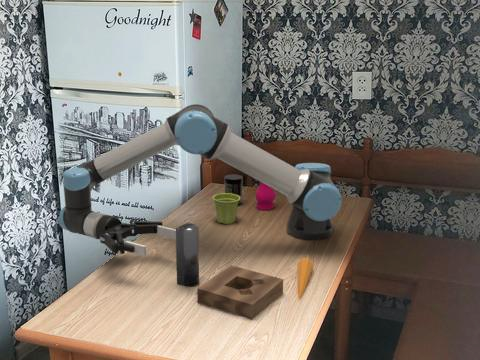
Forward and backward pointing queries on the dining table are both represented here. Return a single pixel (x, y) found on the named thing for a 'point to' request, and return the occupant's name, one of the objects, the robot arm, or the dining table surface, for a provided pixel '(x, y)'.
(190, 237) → the d peg
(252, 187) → the dining table surface
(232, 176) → the supplement container
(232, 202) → the plant pot
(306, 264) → the carrot
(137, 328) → the dining table surface
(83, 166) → the robot arm
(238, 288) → the socket block
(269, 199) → the pepper mill
